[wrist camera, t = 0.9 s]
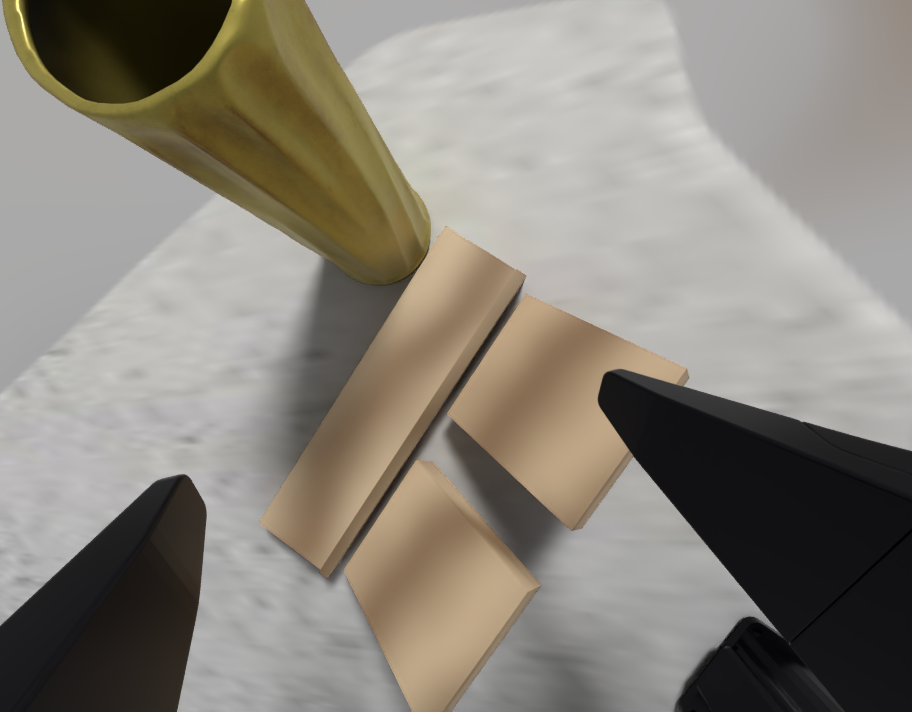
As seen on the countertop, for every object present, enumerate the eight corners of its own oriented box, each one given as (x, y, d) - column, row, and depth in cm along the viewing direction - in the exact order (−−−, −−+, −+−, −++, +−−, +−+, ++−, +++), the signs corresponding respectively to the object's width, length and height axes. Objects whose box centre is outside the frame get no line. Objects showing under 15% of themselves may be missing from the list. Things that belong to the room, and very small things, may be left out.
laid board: (523, 281, 20) (526, 275, 18) (341, 560, 21) (327, 578, 19) (449, 235, 20) (444, 224, 18) (275, 511, 21) (256, 524, 20)
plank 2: (689, 378, 14) (686, 368, 13) (582, 528, 15) (571, 530, 14) (536, 304, 19) (525, 293, 18) (461, 418, 20) (446, 413, 19)
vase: (351, 301, 21) (37, 195, 7) (315, 205, 21) (-66, -101, 7) (447, 261, 20) (328, 46, 6) (409, 162, 20) (206, -279, 6)
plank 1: (541, 585, 15) (527, 592, 14) (444, 720, 15) (424, 737, 14) (432, 461, 20) (416, 459, 19) (362, 566, 21) (343, 570, 19)
